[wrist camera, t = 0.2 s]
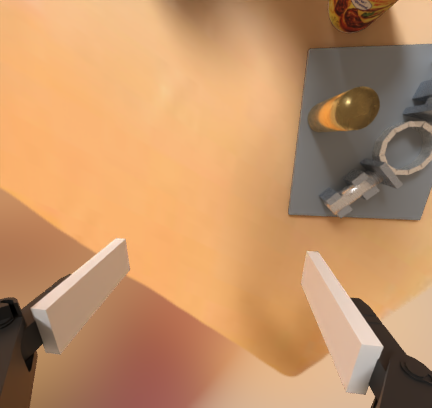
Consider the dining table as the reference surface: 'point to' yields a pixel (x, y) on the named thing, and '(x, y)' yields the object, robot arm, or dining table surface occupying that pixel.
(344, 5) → the canned food
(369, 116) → the cylinder
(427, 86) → the shaft
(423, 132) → the socket
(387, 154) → the base board
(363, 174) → the shaft
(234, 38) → the dining table surface
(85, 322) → the robot arm
